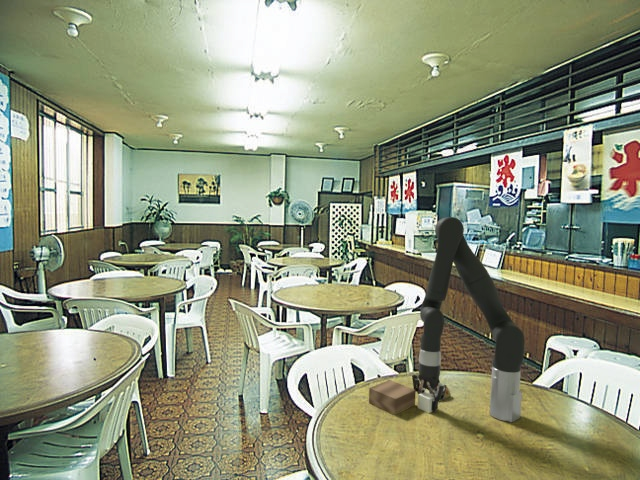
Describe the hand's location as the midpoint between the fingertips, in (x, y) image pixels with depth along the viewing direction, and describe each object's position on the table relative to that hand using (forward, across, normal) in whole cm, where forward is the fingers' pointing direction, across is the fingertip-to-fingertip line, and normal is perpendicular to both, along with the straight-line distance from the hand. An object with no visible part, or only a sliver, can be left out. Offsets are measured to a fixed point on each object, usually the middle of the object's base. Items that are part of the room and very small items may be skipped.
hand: (427, 407), depth 157 cm
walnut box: (+1, +10, +8) cm, 13 cm away
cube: (0, 0, 0) cm, 0 cm away
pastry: (+1, +4, -12) cm, 13 cm away
